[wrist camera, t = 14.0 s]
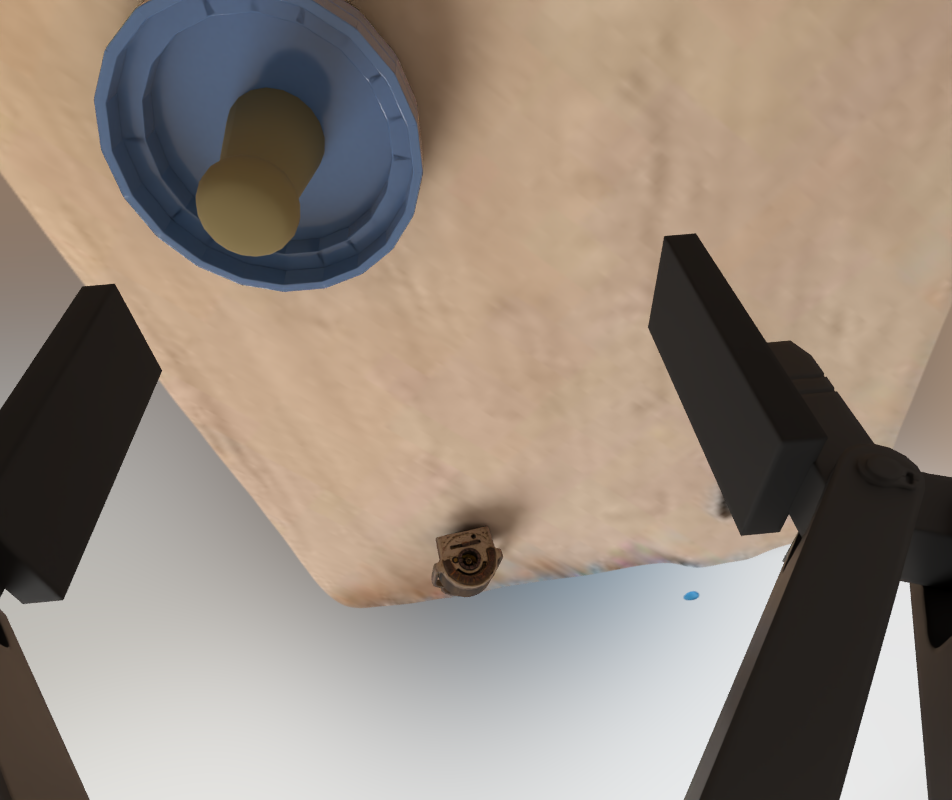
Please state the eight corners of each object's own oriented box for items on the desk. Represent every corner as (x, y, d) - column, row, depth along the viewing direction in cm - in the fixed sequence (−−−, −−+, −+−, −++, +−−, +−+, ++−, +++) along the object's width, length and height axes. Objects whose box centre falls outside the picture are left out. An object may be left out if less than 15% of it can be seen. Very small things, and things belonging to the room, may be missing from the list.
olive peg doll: (341, 167, 41) (324, 255, 33) (258, 195, 42) (223, 287, 34) (297, 73, 37) (266, 148, 29) (206, 106, 38) (152, 188, 30)
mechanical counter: (535, 570, 70) (457, 572, 65) (486, 631, 77) (413, 637, 72) (512, 519, 75) (439, 517, 70) (469, 580, 82) (399, 583, 77)
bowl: (63, -25, 34) (26, -6, 30) (400, -51, 34) (399, -35, 31) (189, 266, 46) (173, 301, 43) (433, 245, 47) (435, 279, 43)
